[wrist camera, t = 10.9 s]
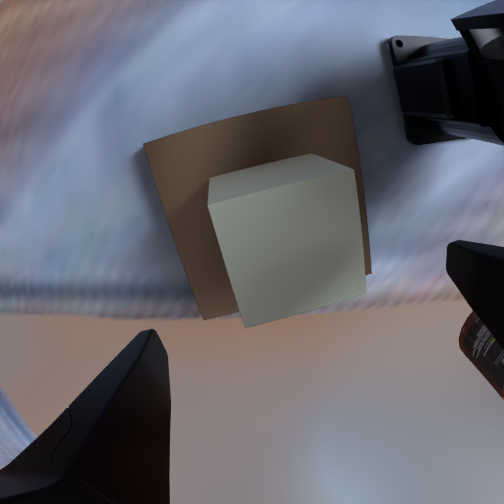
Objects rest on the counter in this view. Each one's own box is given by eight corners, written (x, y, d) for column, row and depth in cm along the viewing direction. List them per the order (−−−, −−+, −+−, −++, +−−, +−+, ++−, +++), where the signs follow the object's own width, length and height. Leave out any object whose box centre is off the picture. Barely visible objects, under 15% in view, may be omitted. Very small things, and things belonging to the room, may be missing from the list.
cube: (311, 153, 15) (354, 169, 10) (327, 246, 17) (366, 293, 12) (209, 178, 15) (207, 205, 10) (235, 270, 17) (244, 328, 12)
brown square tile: (338, 96, 15) (347, 95, 14) (363, 264, 19) (371, 273, 18) (148, 142, 15) (143, 143, 14) (204, 308, 19) (203, 320, 18)
